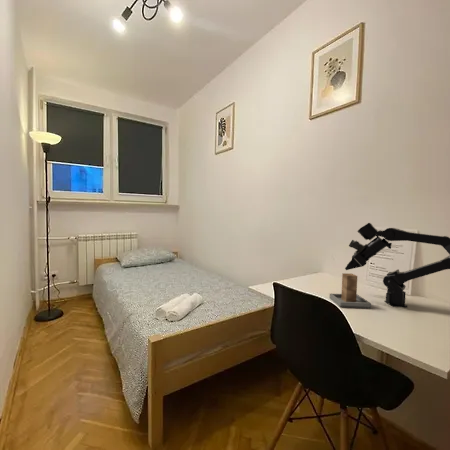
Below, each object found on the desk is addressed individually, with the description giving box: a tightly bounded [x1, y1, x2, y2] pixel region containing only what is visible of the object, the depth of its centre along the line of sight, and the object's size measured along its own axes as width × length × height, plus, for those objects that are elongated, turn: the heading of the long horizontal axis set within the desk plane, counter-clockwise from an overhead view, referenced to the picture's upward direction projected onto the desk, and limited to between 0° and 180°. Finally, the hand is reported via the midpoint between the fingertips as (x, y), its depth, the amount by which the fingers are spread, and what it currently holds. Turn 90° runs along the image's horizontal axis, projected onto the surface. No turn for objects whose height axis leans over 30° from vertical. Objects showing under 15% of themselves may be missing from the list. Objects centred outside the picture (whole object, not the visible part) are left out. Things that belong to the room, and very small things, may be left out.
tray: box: [329, 293, 372, 309], centre depth 113 cm, size 13×12×2 cm
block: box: [340, 272, 358, 302], centre depth 114 cm, size 4×4×12 cm
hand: (346, 267), depth 125 cm, fingers open, 9 cm apart
